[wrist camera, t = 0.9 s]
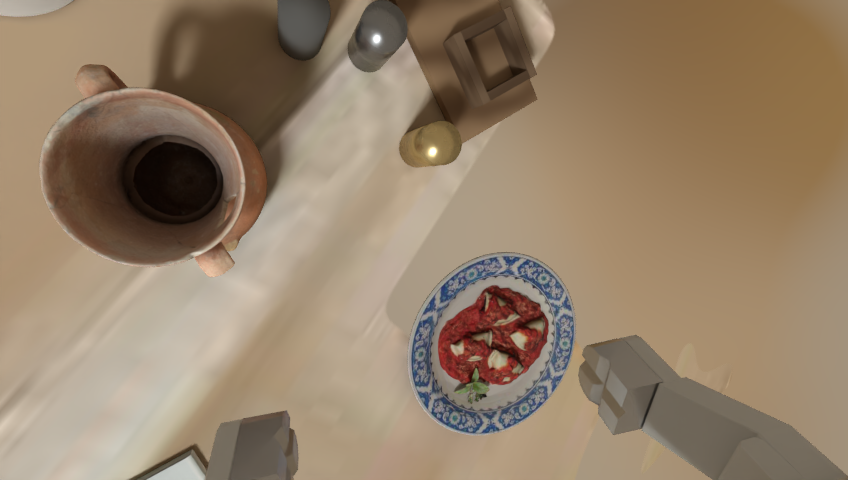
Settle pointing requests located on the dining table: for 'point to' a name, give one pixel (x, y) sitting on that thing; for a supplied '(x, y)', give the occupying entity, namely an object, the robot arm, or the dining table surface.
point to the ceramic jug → (150, 176)
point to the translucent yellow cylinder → (431, 145)
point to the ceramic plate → (491, 343)
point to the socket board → (470, 60)
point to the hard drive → (179, 469)
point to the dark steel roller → (377, 35)
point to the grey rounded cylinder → (302, 26)
